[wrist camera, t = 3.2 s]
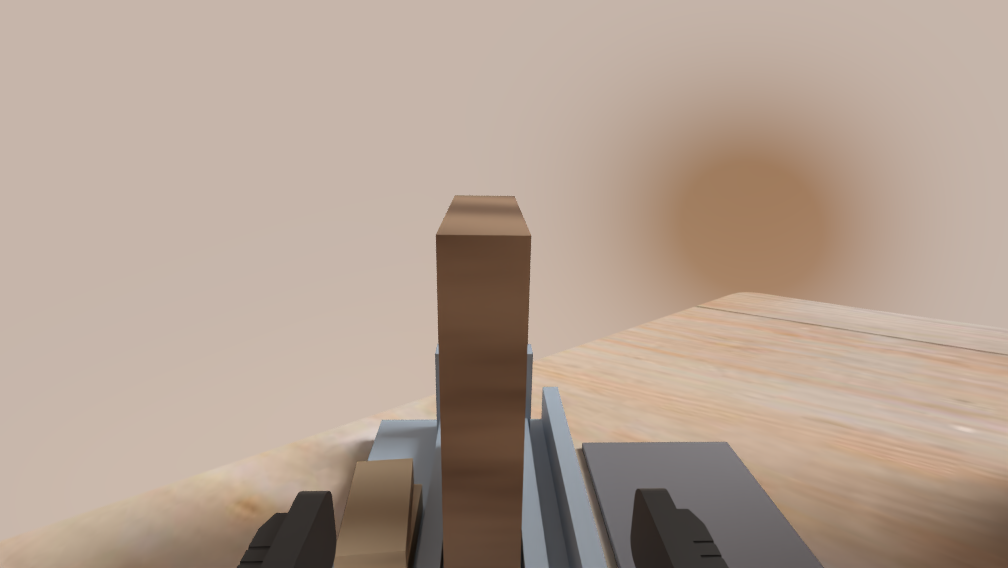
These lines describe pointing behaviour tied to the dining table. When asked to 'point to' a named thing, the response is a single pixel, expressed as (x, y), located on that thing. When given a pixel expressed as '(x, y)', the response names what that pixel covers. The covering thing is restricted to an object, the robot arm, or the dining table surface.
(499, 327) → the walnut board
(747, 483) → the mat
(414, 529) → the offcut lower
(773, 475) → the dining table surface
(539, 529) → the rack
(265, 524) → the robot arm
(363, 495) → the offcut upper
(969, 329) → the dining table surface
